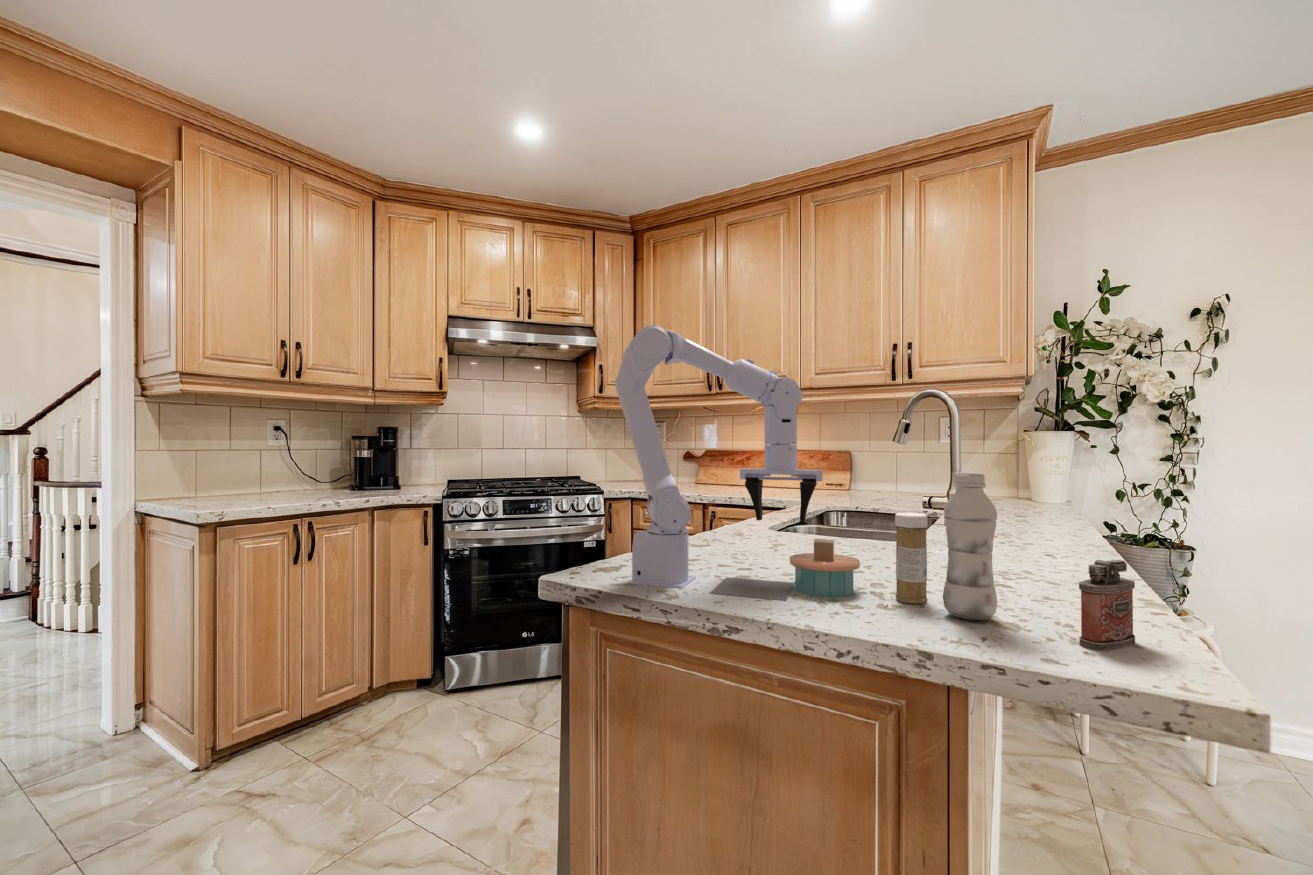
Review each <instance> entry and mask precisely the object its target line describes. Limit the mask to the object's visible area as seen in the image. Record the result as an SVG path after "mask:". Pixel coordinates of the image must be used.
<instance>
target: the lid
mask: <svg viewBox="0 0 1313 875" xmlns="http://www.w3.org/2000/svg"><path fill="white" fill-rule="evenodd" d="M789 564H790V565H791V566H793V567H794V568H795V567H798V568H803V569H808V570H816V571H831V572H837V571H851V570H853V571H855V570H858V569H860V568H861V562H860V559H858V558H855V557H853V556H849V555H842V554H836V553H835V540H834V539H824V538H823V539H822V538H821V539H820V538H819V539H818V538H815V539H814V541H813V552H810V553H809V552H806V553H798V554H793V555H790V557H789Z"/></svg>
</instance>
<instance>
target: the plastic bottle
mask: <svg viewBox="0 0 1313 875" xmlns="http://www.w3.org/2000/svg"><path fill="white" fill-rule="evenodd" d="M985 477H986V476H985V474H983V473H968V472H967V473H961V472H960V473H959V472H958V473H954V483H953V487H954V488H955V487H956V489H955V492H954V493H953V494H952V495H951V497H950V498H949V499H948V501H947V502H946V504H945V505H944V506H945V507H944V509H943V516H944V524H945V525H944V526H945V531H946V537H947V538H946V540H947V541H946V542H947V549H948V551H947V557H948V558H947V566H946V568H947V569H946V579H945V580H946V581H945V583H944V586H943V594H942V599H943V600H942V601H943V605H944V606H943V607H944V608H945V610H946V611H947V613H948V614H950V615H951V616H954V617H957V618H962V619H965V620H970V621H986V620H991V619H992V618H993V617H994V615H995V614H996V612H997V608H998V597H997V596H998V595H997V591H996V590H997V589H996V587H995V586H994V585H995V583H994V582H995V581H994V571H993V570H994V567H993V551H994V538H995V535H996V534H995V532H996V527H997V521H998V512H997V508H996V506H995V505H994V503H993V502H992V500H991V499H990V498H989V497H988V495H987V494H986V493H985V492H984V489H985V488H986V486H987V485H986V481H985V480H986V478H985Z"/></svg>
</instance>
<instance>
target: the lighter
mask: <svg viewBox="0 0 1313 875" xmlns="http://www.w3.org/2000/svg"><path fill="white" fill-rule="evenodd" d="M1127 565H1128V563H1127V562H1125V560H1122V559H1116V560H1115V559H1114V560H1113V559H1112V560H1102V559H1096V560H1095V561H1094V563H1093V564H1088V574H1089V578H1090V579H1089V578H1088V579H1085V580H1082V581H1081V580H1080V581H1079V582H1078V589H1079V590H1080V610H1081V611H1080V612H1081V613H1080V614H1081V615H1080V616H1081V619H1080V622H1081V626H1080V627H1081V628H1080V629H1081V630H1080V631H1081V633H1080V634H1081V636H1079V641H1078V642H1079V644H1078V645H1079V646H1080V647H1082V648H1084V649H1088V650H1092V651H1100V652H1104V651H1105V652H1107V651H1116V650H1121V649H1125V648H1130V647H1132V646H1133V645H1135V644H1136V635H1135V634H1134V619H1133V618H1134V614H1133V613H1134V608H1133V607H1134V605H1133V603H1134V600H1133V598H1134V597H1133V596H1134V594H1133V589H1135V586H1136V584H1135V582H1136V581H1135V580H1132V579H1129V578H1122V577H1121V574H1119V573H1123V572H1127V571H1128V570H1127V569H1128V568H1127V567H1128V566H1127Z"/></svg>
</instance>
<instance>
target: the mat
mask: <svg viewBox="0 0 1313 875" xmlns="http://www.w3.org/2000/svg"><path fill="white" fill-rule="evenodd" d="M794 586H795V582H789V581H777V580H765V579H753V578H752V579H751V578H740V577H739V578H738V577H728V576H727V577H725V578H724V579H723V580H722V581H720V582H719V584H718V585H716V586H715V587H714V588H713V589H712V590H711V591H710V592H709V593H708V594H709V595H717V596H726V597H727V596H728V597H729V596H730V597H739V598H751V599H760V600H761V599H762V600H772V601H784V602H786V601H787V599H788V597H789V596H790V594H791V592H792V591H793V588H794Z"/></svg>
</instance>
